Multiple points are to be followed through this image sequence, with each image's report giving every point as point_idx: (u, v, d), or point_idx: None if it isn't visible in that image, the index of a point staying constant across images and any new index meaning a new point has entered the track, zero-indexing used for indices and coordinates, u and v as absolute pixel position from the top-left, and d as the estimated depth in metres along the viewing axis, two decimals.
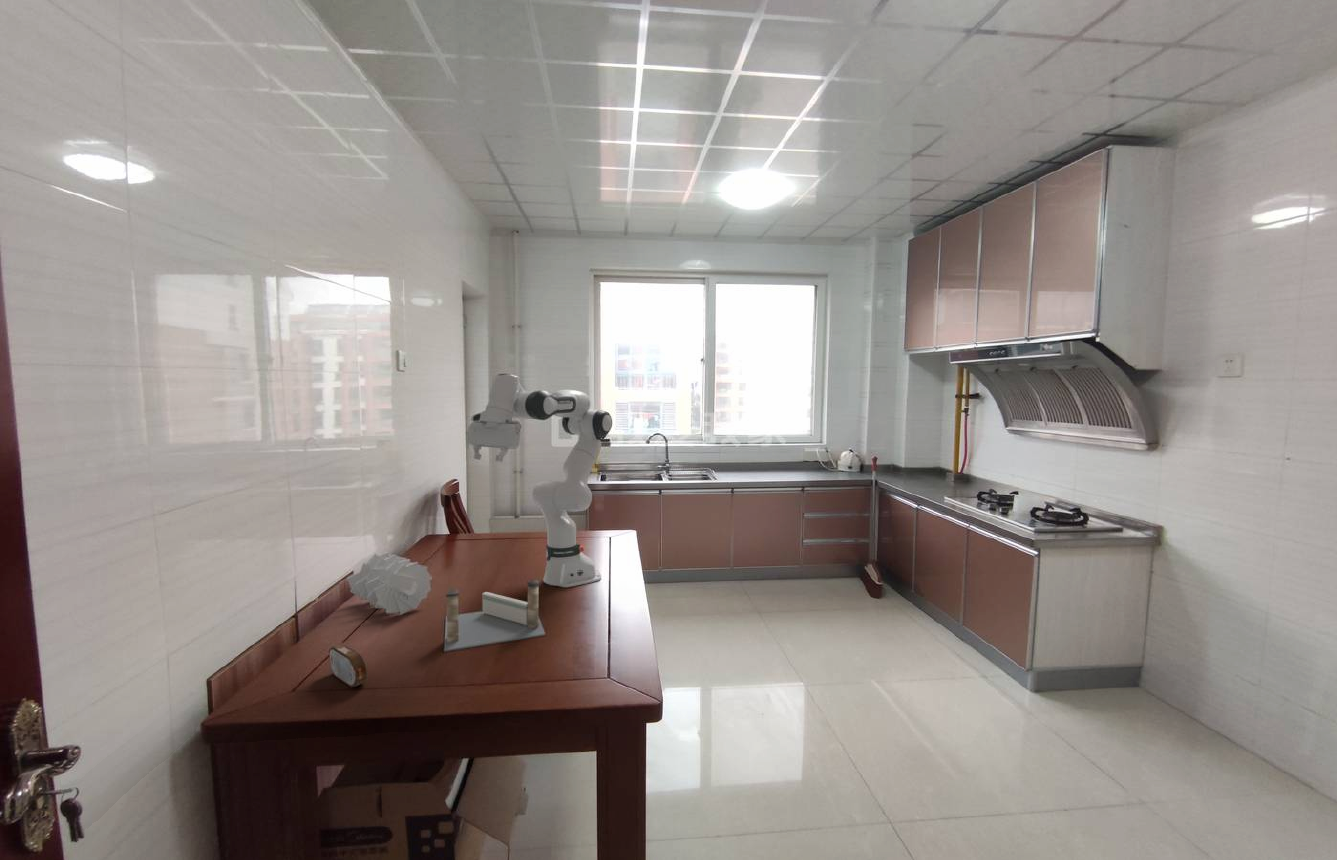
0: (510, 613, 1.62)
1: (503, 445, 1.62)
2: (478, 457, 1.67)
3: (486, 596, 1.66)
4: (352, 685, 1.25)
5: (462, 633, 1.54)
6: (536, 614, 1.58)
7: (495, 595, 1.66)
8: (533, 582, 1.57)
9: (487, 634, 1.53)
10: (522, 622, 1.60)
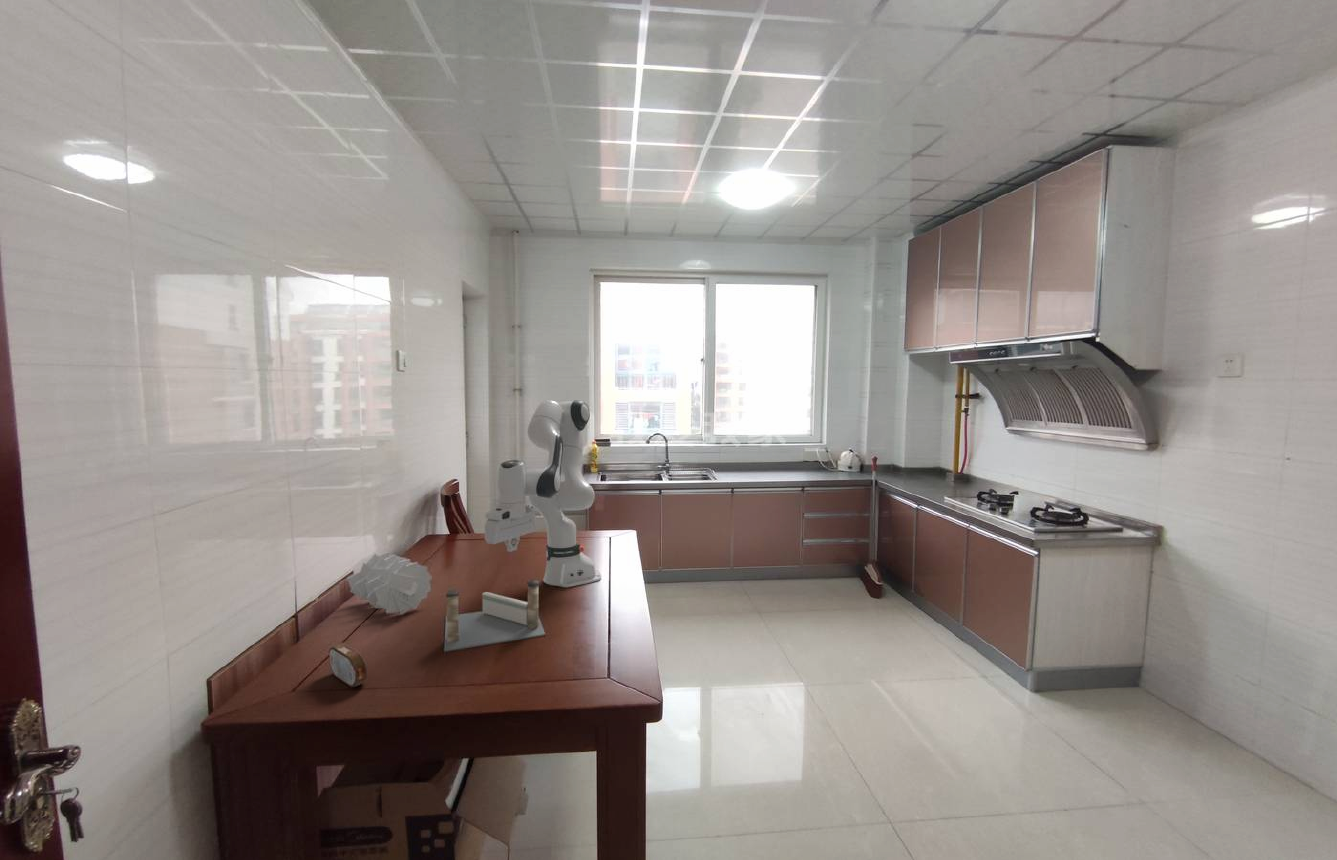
0: (510, 613, 1.62)
1: (530, 532, 1.75)
2: None
3: (486, 596, 1.66)
4: (352, 685, 1.25)
5: (462, 633, 1.54)
6: (536, 614, 1.58)
7: (495, 595, 1.66)
8: (533, 582, 1.57)
9: (487, 634, 1.53)
10: (522, 622, 1.60)
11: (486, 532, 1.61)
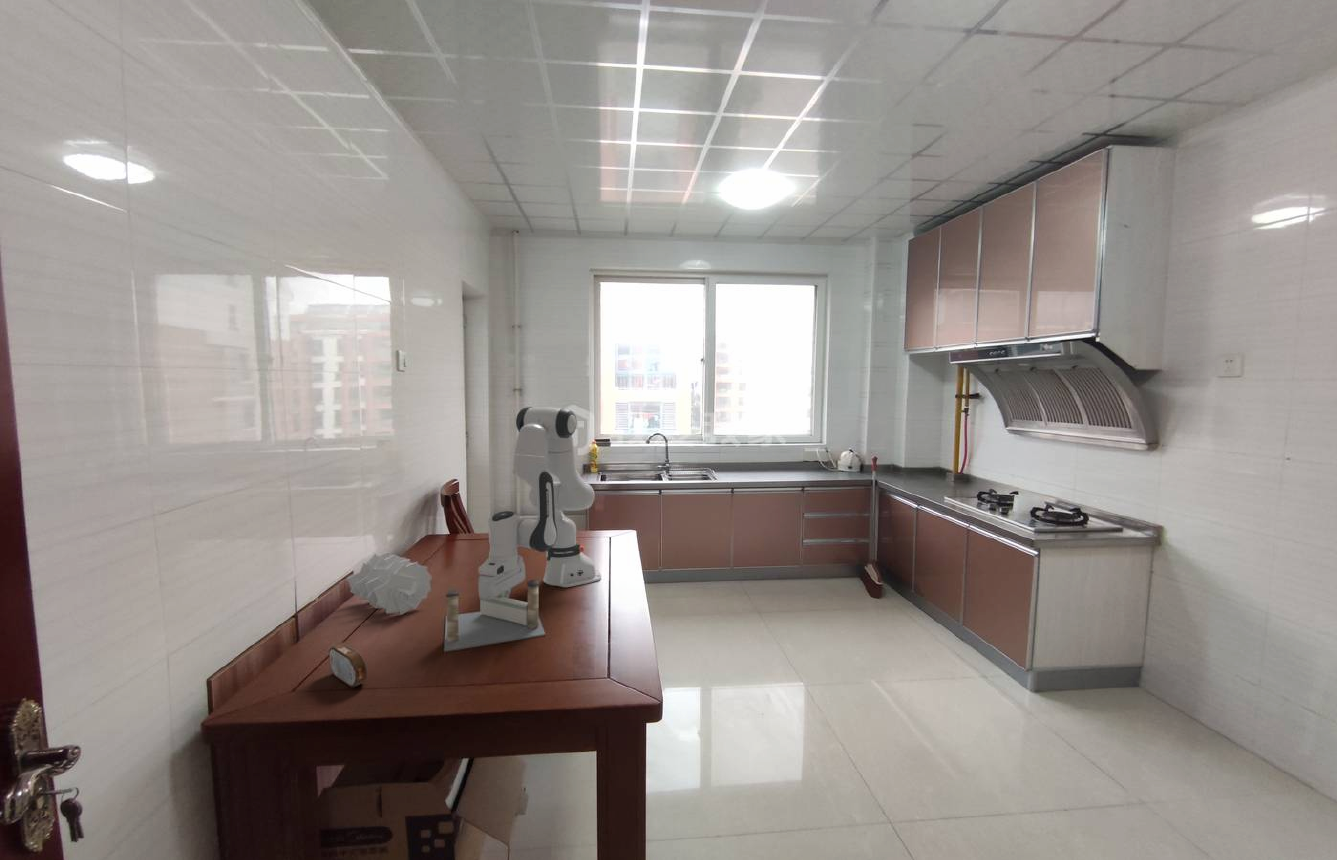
0: (509, 613, 1.61)
1: (520, 582, 1.73)
2: None
3: None
4: (352, 685, 1.25)
5: (462, 633, 1.54)
6: (536, 614, 1.58)
7: None
8: (533, 582, 1.57)
9: (487, 634, 1.53)
10: (522, 622, 1.59)
11: (480, 589, 1.58)
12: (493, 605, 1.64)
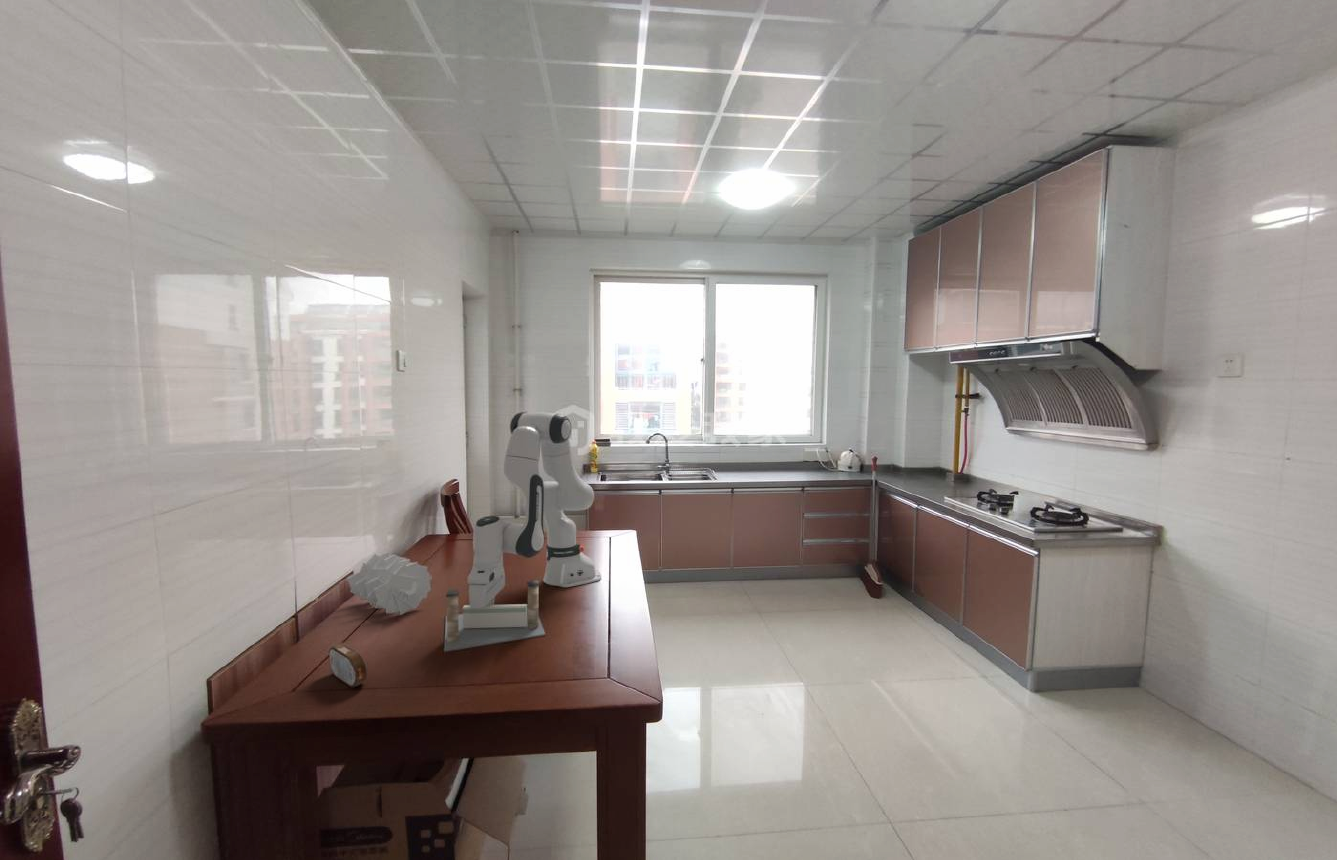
0: (503, 619, 1.57)
1: (501, 588, 1.67)
2: None
3: (469, 609, 1.56)
4: (352, 685, 1.25)
5: (462, 633, 1.54)
6: (536, 614, 1.58)
7: None
8: (533, 582, 1.57)
9: (487, 634, 1.53)
10: (520, 625, 1.58)
11: (472, 599, 1.50)
12: (481, 615, 1.56)
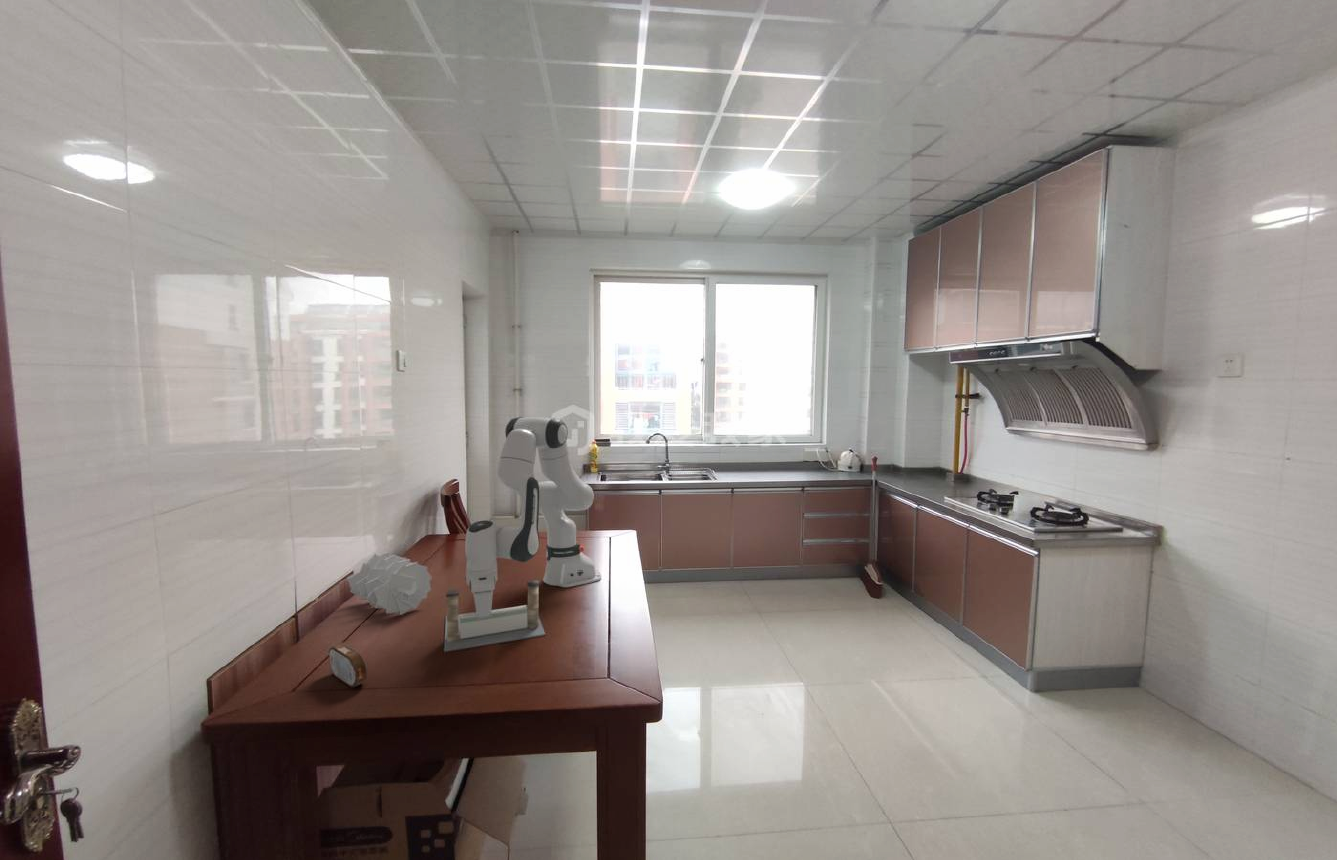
0: (503, 624, 1.54)
1: None
2: None
3: (467, 618, 1.50)
4: (352, 685, 1.25)
5: None
6: (536, 614, 1.58)
7: None
8: (533, 582, 1.57)
9: (487, 634, 1.53)
10: (521, 627, 1.56)
11: (479, 607, 1.44)
12: (480, 622, 1.51)
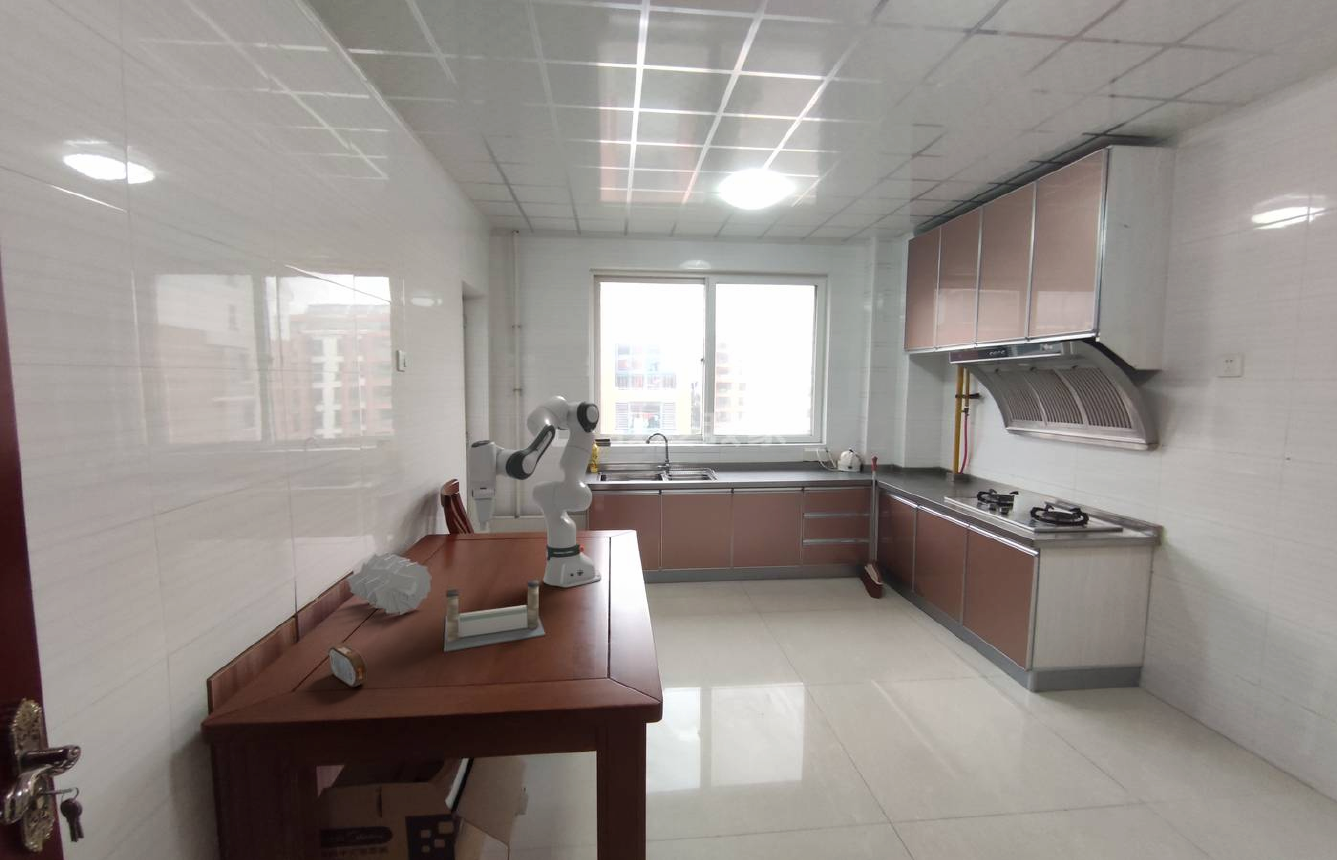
0: (503, 623, 1.55)
1: None
2: None
3: (466, 617, 1.51)
4: (352, 685, 1.25)
5: None
6: (536, 614, 1.58)
7: (478, 612, 1.52)
8: (533, 582, 1.57)
9: (487, 634, 1.53)
10: (521, 626, 1.57)
11: (480, 511, 1.62)
12: (480, 621, 1.52)
